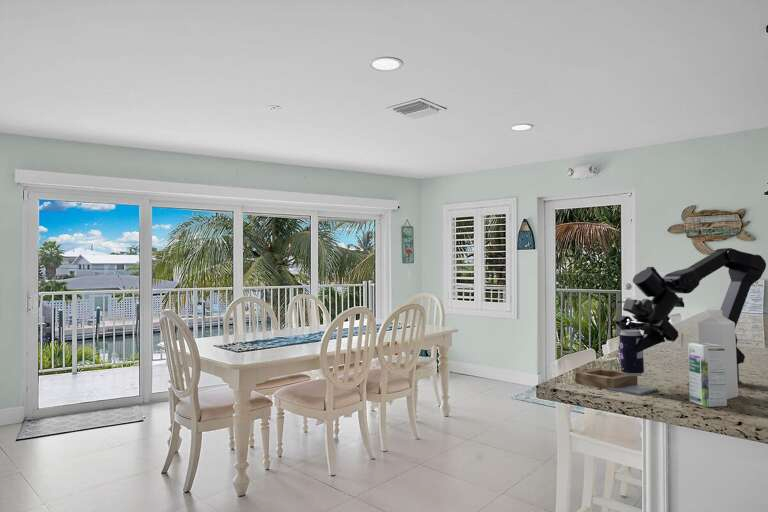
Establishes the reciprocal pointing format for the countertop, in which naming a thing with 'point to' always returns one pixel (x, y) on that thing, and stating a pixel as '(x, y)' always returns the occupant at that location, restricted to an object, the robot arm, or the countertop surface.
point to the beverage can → (631, 353)
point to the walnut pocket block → (604, 378)
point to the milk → (722, 334)
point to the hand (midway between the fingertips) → (627, 350)
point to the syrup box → (707, 374)
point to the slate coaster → (633, 389)
